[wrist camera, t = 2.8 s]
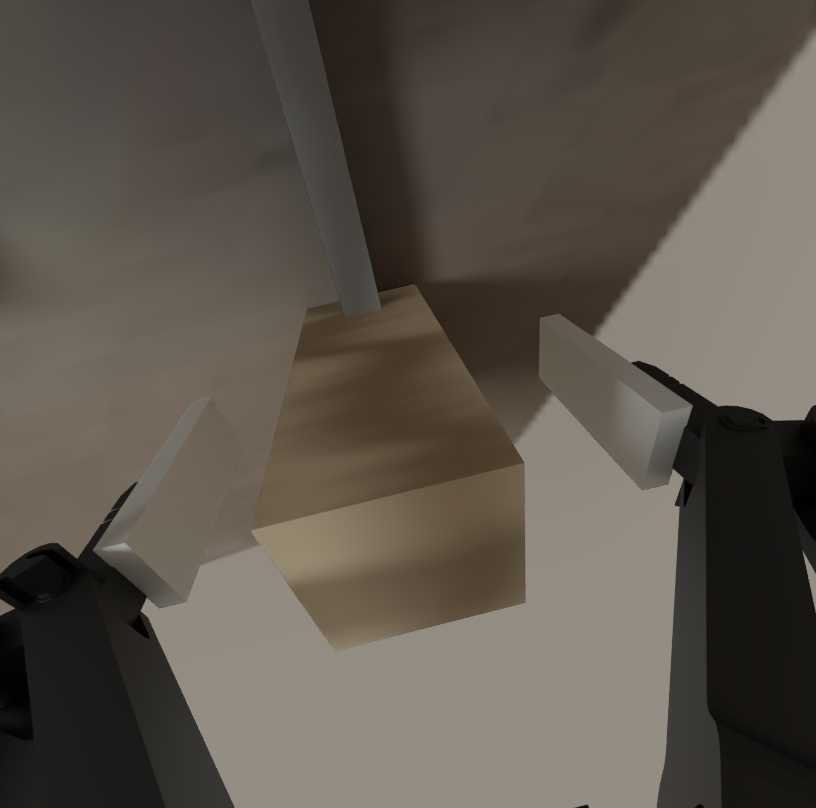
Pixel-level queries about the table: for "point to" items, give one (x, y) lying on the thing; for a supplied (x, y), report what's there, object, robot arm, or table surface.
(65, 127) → the table surface
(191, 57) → the table surface
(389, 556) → the blade tool
